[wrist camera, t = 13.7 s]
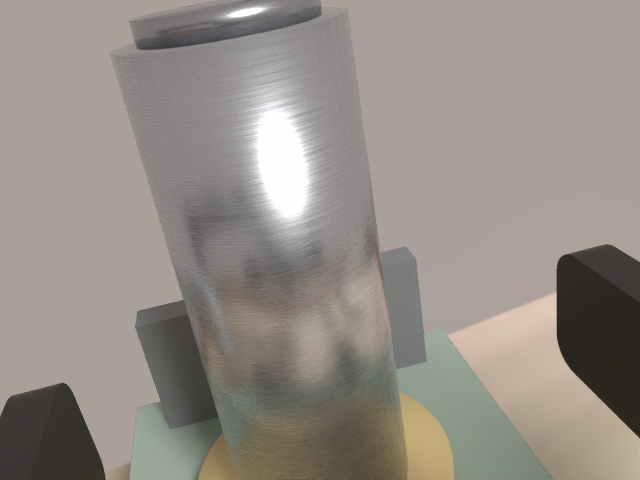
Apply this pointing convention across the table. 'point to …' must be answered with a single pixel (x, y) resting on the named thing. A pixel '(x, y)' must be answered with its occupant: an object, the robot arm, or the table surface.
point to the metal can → (271, 230)
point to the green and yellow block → (413, 383)
